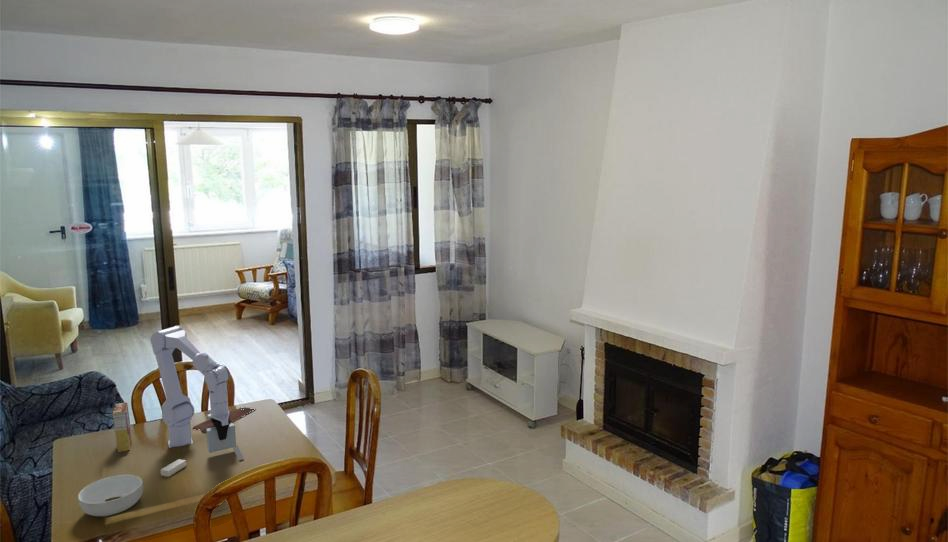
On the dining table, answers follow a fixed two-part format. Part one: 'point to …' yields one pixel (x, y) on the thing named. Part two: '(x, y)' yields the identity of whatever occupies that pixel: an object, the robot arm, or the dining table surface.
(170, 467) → the upper offcut
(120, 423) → the candy box
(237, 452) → the grey mat
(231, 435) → the pale grey rectangular block
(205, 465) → the dining table surface
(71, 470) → the dining table surface
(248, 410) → the wooden tablet
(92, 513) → the cereal bowl
